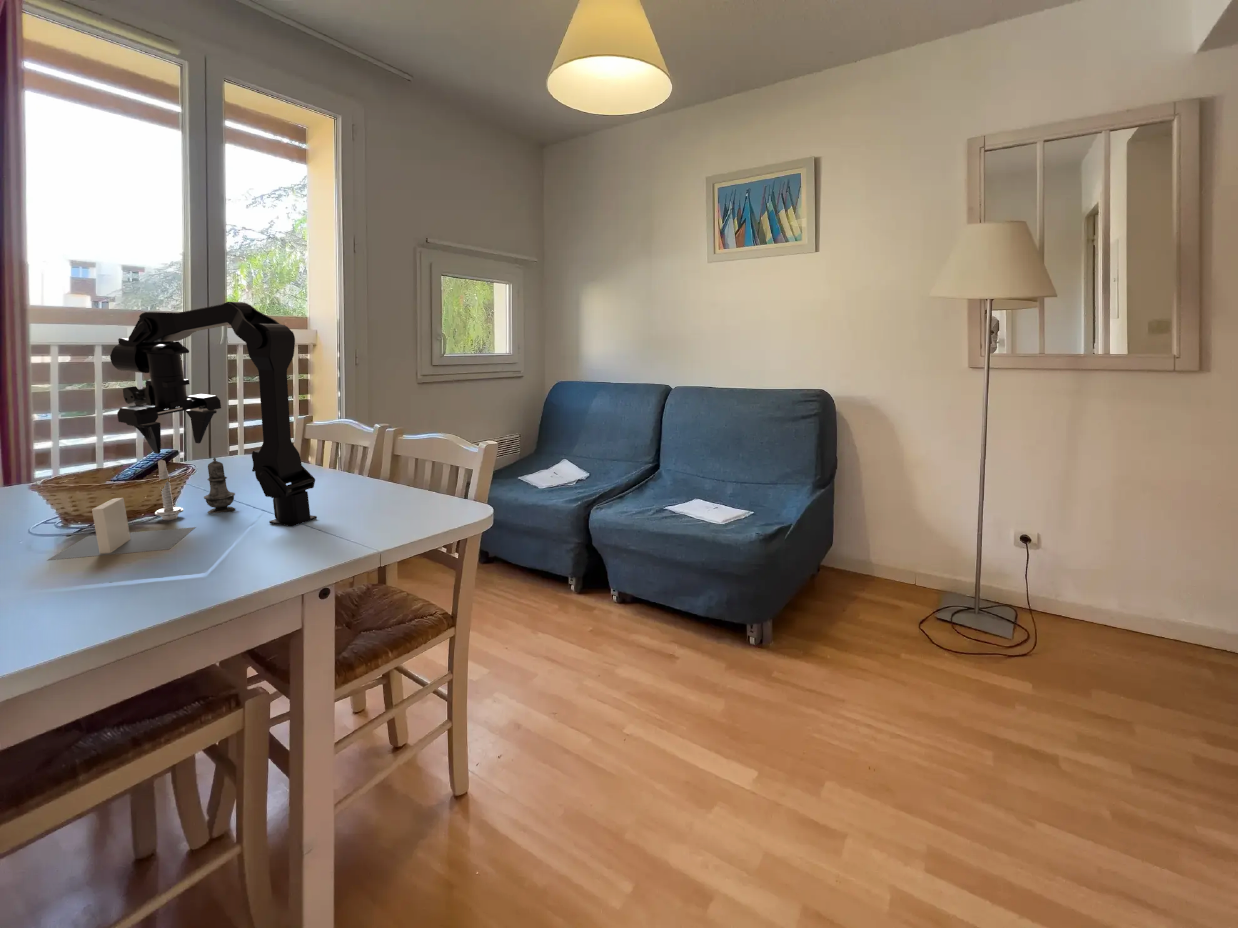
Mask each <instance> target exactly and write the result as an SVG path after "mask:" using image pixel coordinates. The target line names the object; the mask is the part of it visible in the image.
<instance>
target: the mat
mask: <svg viewBox="0 0 1238 928" xmlns="http://www.w3.org/2000/svg"><path fill="white" fill-rule="evenodd" d="M196 528H197V527H195V526H194V527H182V528H169V529H159V530H145V531H133V532H132V531H130V532H129V533H130V540H129V541H127V542H126V543H124V544H123V545H121V546H120V547H119V548H117V549H116V550H114V551H113V552H111V553H104V554H100V552H99V546H98V541H97V535H96V534H95V535H87V536H86V537H84V538H82V539H80V540H79V541H77V542H75V543H73V544H72V545H70V546H68V547H67V548H66V549H64V550H61V551H60V552H58V553H57V554H54V555H53V556H52V557H49V558H48V559H47V561H54V560H56V559H57V560H65V559H67V560H68V559H76V558H78V559H80V558H89V557H99V556H100V557H102V556H111V555H113V556H114V555H121V554H122V555H123V554H133V553H135V554H136V553H143V552H144V553H145V552H157V551H169V550H170V549H172V548H173V547H174V546H175V545H177V544H178V543H179V542H180V541H182V540H183V539H184V538H185V537H187V535H189V534H190V533H191V532H192V531H193V530H195V529H196Z"/></svg>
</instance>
